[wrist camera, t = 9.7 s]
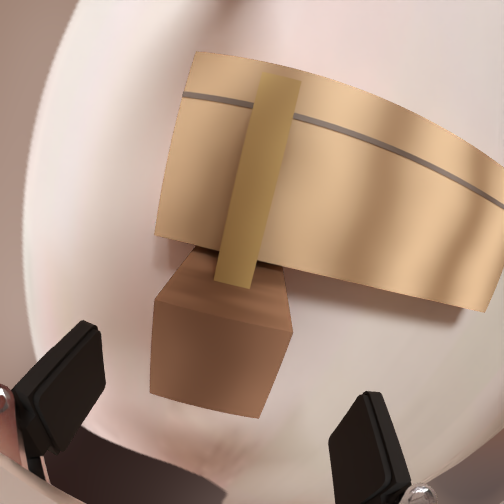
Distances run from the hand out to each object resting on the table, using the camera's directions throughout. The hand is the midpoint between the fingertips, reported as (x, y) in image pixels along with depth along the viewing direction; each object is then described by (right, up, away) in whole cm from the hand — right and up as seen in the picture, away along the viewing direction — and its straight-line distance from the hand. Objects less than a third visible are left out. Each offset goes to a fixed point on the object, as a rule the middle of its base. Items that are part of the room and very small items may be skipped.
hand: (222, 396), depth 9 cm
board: (+8, +8, +7) cm, 14 cm away
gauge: (+1, +7, +8) cm, 11 cm away
